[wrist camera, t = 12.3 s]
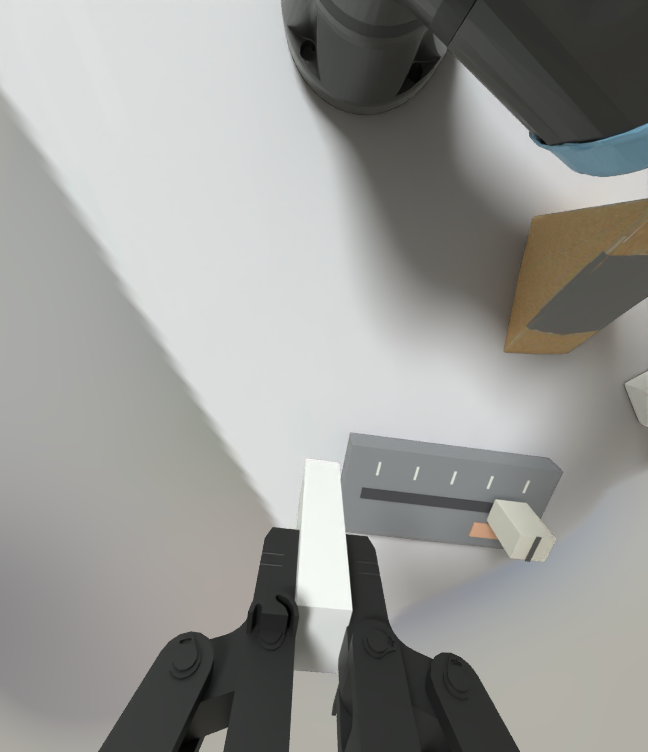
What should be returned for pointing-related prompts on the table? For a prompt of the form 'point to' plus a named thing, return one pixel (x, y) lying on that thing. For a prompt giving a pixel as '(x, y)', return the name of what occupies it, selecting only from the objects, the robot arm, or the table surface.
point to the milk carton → (639, 396)
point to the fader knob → (520, 531)
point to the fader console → (437, 488)
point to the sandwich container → (578, 276)
